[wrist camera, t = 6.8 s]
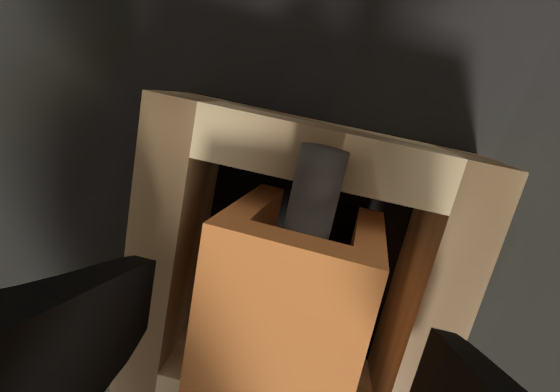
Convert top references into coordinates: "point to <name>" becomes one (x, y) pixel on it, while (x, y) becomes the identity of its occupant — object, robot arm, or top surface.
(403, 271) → the shelf block
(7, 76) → the top surface
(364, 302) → the orange u-channel
